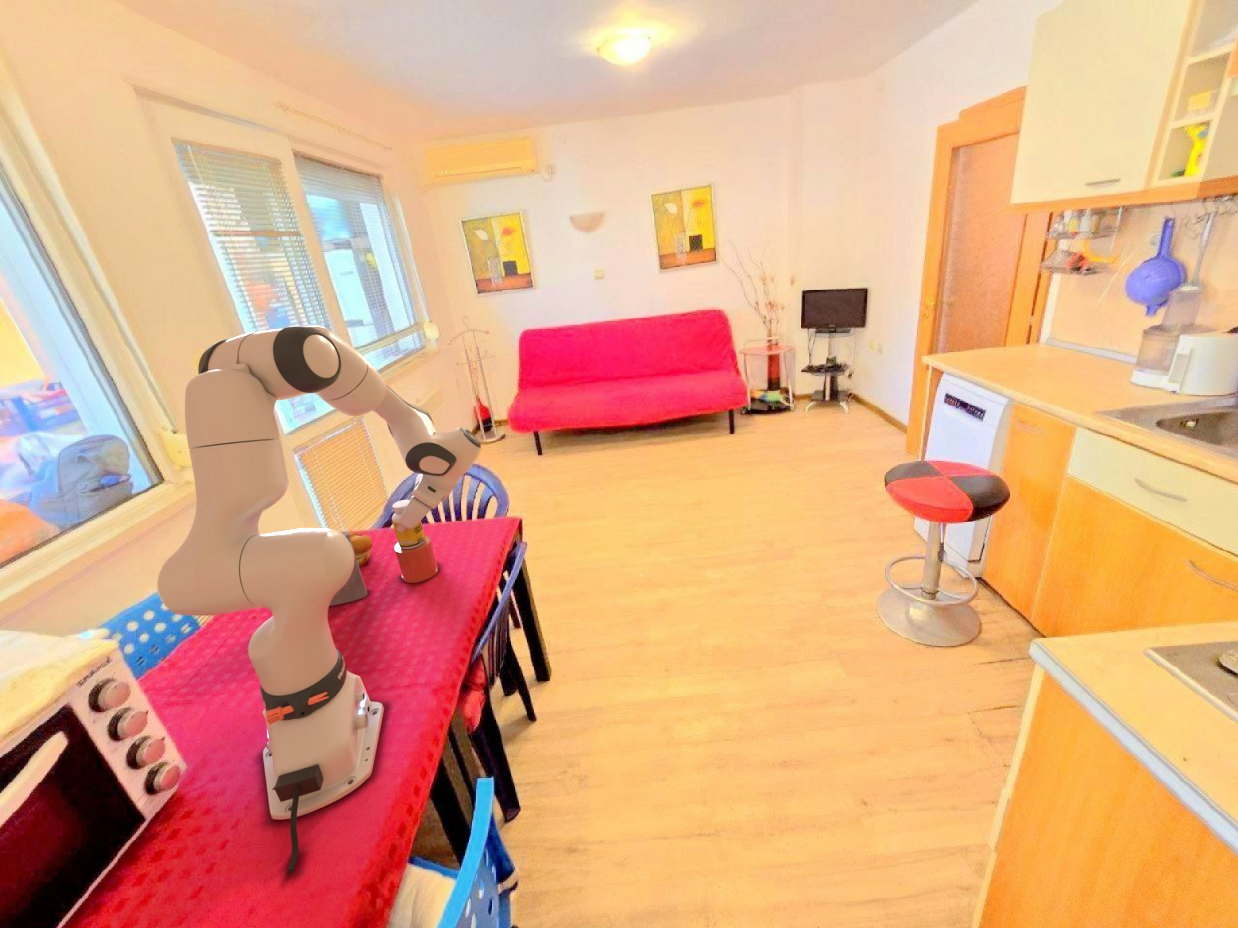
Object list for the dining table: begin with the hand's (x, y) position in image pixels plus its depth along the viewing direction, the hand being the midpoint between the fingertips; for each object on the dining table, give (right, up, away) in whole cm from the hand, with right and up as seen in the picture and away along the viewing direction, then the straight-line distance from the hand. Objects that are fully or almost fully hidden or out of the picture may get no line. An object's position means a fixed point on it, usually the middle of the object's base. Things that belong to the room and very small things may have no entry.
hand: (404, 522), depth 129 cm
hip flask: (-16, -20, -3) cm, 26 cm away
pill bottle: (+1, -6, +2) cm, 7 cm away
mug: (+1, -14, +7) cm, 15 cm away
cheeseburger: (-20, -13, +14) cm, 28 cm away
